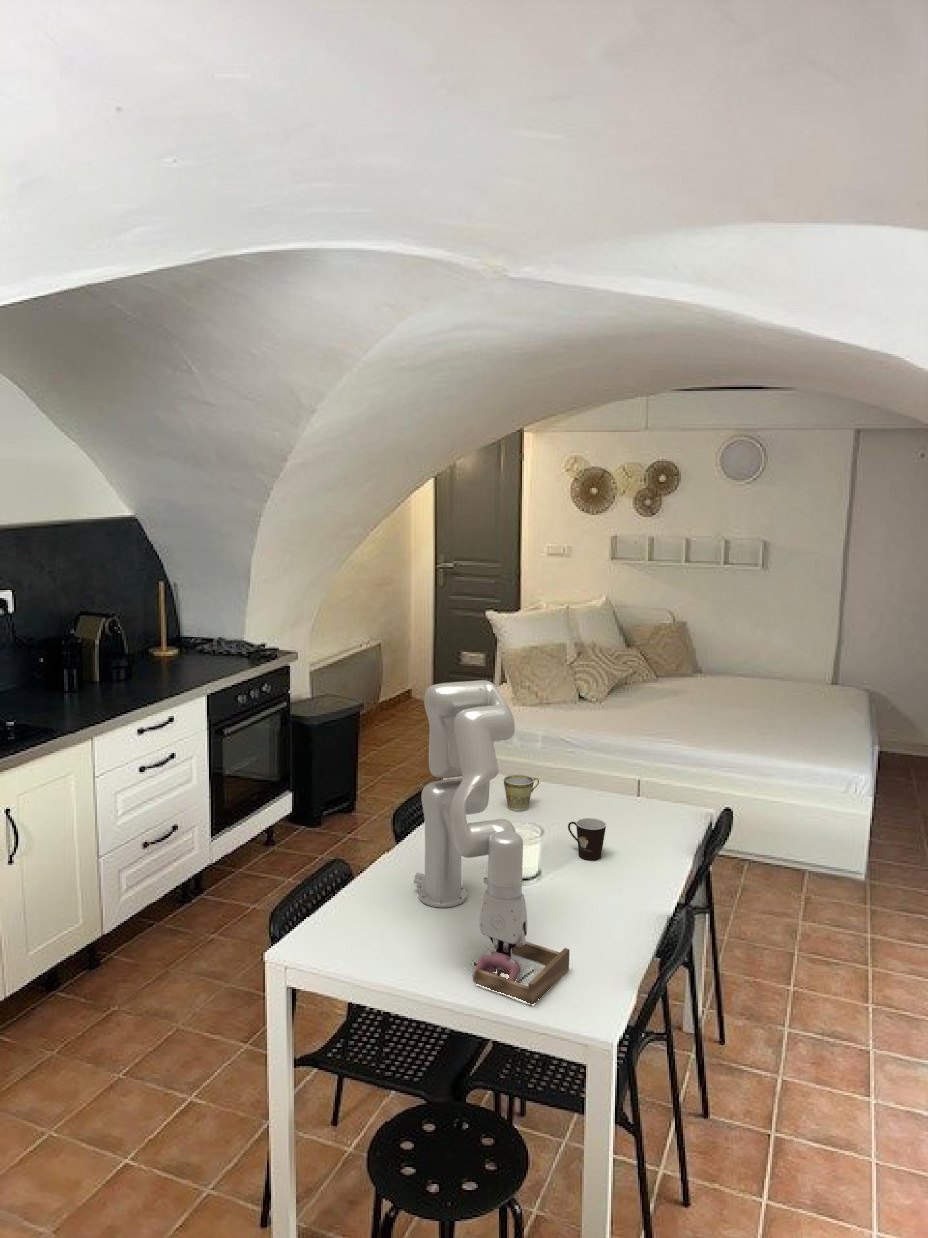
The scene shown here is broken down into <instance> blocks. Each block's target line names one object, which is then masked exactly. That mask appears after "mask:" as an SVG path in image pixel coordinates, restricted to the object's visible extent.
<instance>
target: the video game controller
mask: <svg viewBox="0 0 928 1238" xmlns="http://www.w3.org/2000/svg"><path fill="white" fill-rule="evenodd" d="M497 968H499V969H502V971H501V972H500V973H504V974H508V975H509V978H508V979H509V980H512V981H514V982H515V981H516V979H517V980H518V978H517V977H519V975H520V973H521V970H522V969H521V964H520V963H519V962H518V961H516V960H515V959H514V958H513V957H512V956H511V957H510V956H508V955H506V954H503V953H498V952H496V951H487V952H485V953H484V954H482V955H481V956H480V958H479V960H478V962H477V964H476V965H475V968H474V969H473V970H474V971H473V973H472V980H473V981H474V980H475V976H476V970H477V969H481V970H483V971H486V972H489V973H492V972H496V969H497ZM492 974H493V973H492ZM518 974H519V975H518ZM516 982H517V981H516Z"/></svg>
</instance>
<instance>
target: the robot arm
mask: <svg viewBox="0 0 928 1238" xmlns="http://www.w3.org/2000/svg"><path fill="white" fill-rule="evenodd" d="M423 705H424V709H425V710H424V711H425V713H426V716H427V719H428V724H429V733H428V734H429V735H428V767H429V768H428V769H429V772H430V773H431V775H432V776H433V777H436V778H439V779H441V780H436V781H432V782H429V783H427V784H426V785H425V786H424V787H423V789H422V791H421V805H422V806H421V807H422V809H423V810H422V811H423V817H424V819H423V820H424V874H423V873H421V872H416V873H415V875H414V878H413V884H415V885H418V886H419V885H420V889H419V890H418V899H419V900H420V902H421V903H423V904H424V905H427V906H430V907H434V908H452V907H456V906H459V905H461V904H463V903H464V902H465V901H466V900H467V896H468V894H467V890H466V889H465V888H464V886H462V857H463V858H468V859H469V858H478V857H483V856H484V857H485V856H488V858H487V860H488V861H487V865H488V866H487V877H486V876H485V877H483V881H482V882H483V884H485V885H487V888H486V889H485V890H484V892H483V896H482V900H481V907H480V911H479V912H480V913H479V914H480V915H479V931H480V933H481V934H482V935H483V936H484V937H486V938H489V940H490V942H491V943H492V945H493V949H495V952H498V953H503V954H506V955H508V956H510V957H511V958H512V948H513V947H524V946H525V945H526V942H527V940H526V939H527V938H526V936H527V934H528V913H527V912H528V911H527V903H526V898H525V895H524V894H523V893H522V891H523V863H524V861H523V857H524V854H523V853H524V841H523V838H522V836H521V835H520V834H519V833H517V831H516V828H515V826H514V825H513V823H512V822H511V821H510V820H508V819H506V818H498V819H490V820H482V821H476V822H469V823H468V821H467V815H476V814H479V813H482V812H484V811H485V810H486V809H487V807H488V805H489V799H490V785H491V784H490V783H491V780H493V779H495V778H496V777H497V776H498V775H499V771H500V770H499V766H498V759H497V756H496V755H497V754H496V750H495V749H496V748H495V745H494V742H499V741H508V740H511V738H513V736H514V733H515V730H516V729H515V727H516V726H515V725H516V724H515V718H514V715H513V712H512V710H511V708H510V706H509V705H508V702H507V701H506V699H505V698H504V697H503V695H502V694H501V692H500V691H499V689H498V688H497V686H496V685H495V684H494V683H493V682H491V681H489V680H485V679H483V680H482V679H481V680H480V679H479V680H469V681H453V682H442V683H436V684H433V685H431V686H429V687H428V688H427V689H426V691H425V694H424V703H423Z"/></svg>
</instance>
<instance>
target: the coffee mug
mask: <svg viewBox="0 0 928 1238" xmlns="http://www.w3.org/2000/svg"><path fill="white" fill-rule="evenodd" d="M571 825H574V826H576V827H575V828H576V835H575V834H574V833H573V831H572V830H571ZM606 828H607V823H606V822H605V821H604V820H602V819H599V818H593V817H585V818H583V817H582V818H580V819H577V820H576V821H570V822H569V823H568V824H567V829H568V832H569V834H570V835H571V836H572V838H573V839H574V840H575V842H577V848H578V849H577V851H578V857H579V858H580V859H581V860H583V859H584V861H587V862H597V861H599V860H600V859H602V852H603V848H604V847H603V846H604V840H605V834H606ZM576 836H577V837H576Z"/></svg>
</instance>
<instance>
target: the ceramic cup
mask: <svg viewBox="0 0 928 1238" xmlns="http://www.w3.org/2000/svg"><path fill="white" fill-rule="evenodd" d="M535 781H537V784H535V786H534V783H535ZM539 785H540V779H539V778H537V777H532V776H531V775H526V774H520V773H519V774H510V775H509V774H508V775H506V776H505V777H504V778H503V786H504V791H505V796H506V803H507V809H508V810H509V811H511V812H517V813H518V812H519V813H520V812H526V811H528V808H529V805H530V801H531V795H532V793H533V792H534V790H536V788H537V787H538V786H539Z"/></svg>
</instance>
